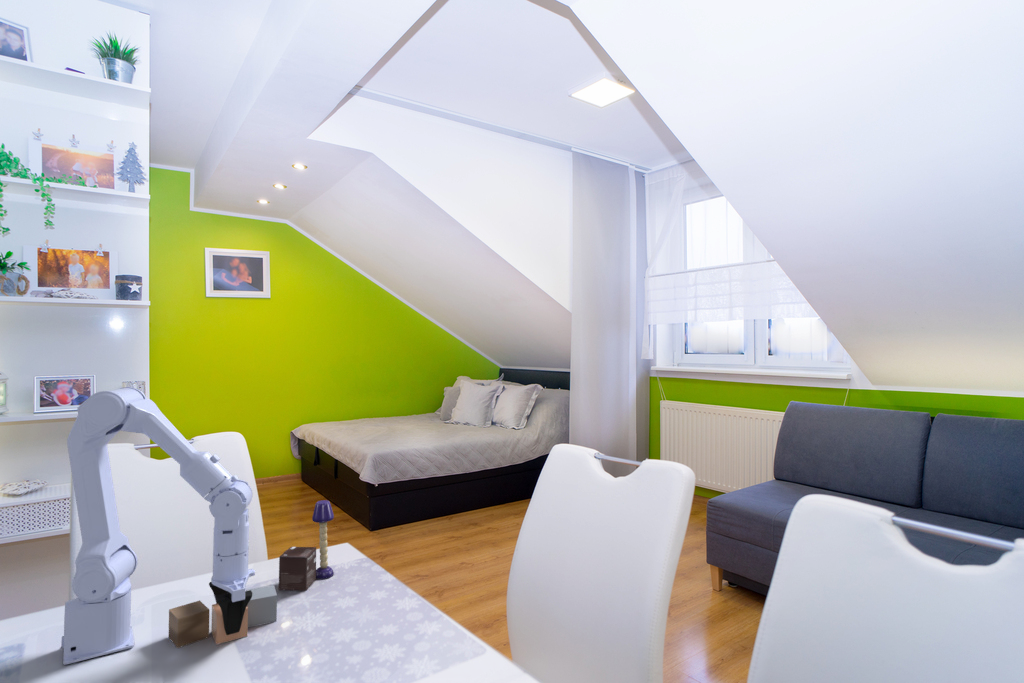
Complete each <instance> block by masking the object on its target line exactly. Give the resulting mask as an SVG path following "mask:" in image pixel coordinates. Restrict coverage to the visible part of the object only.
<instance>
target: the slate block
mask: <svg viewBox="0 0 1024 683" xmlns="http://www.w3.org/2000/svg"><path fill="white" fill-rule="evenodd" d="M249 590H251V592H252V598H251V600H250V601H249V603H248V605H247V607H248V628H249V627H250V628H252V627H256V626H260V625H265V624H270V623H274V622H277V616H278V614H277V613H278V612H277V610H278V609H277V608H278V605H277V604H278V594H277V591H276V587H275V584H272V585H267V586H261V587H260V586H259V587H256V588H250V589H245V591H249Z"/></svg>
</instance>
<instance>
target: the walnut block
mask: <svg viewBox="0 0 1024 683" xmlns="http://www.w3.org/2000/svg"><path fill="white" fill-rule="evenodd" d="M207 638H208V639H209V638H210V608H209V607H208V606H206V605H205V604H204V603H203V602H202V600H197V601H193V602H189V603H186V604H183V605H179V606H177V607H176V606H175V607H173V608H170V609H168V639H169V640H170V639H171V640H172V641H173V642H172V641H171V642H172V643H173V644H174V646H175V645H176V646H175V647H176V648H177V649H179V648H182V647H184V646H188V645H191V644H193V643H196V642H199V641H202V640H205V639H207ZM181 646H182V647H181Z"/></svg>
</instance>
